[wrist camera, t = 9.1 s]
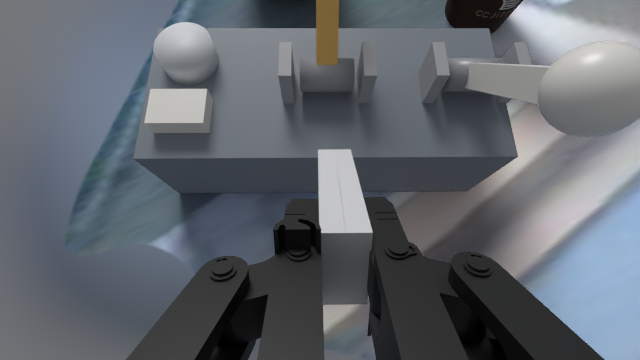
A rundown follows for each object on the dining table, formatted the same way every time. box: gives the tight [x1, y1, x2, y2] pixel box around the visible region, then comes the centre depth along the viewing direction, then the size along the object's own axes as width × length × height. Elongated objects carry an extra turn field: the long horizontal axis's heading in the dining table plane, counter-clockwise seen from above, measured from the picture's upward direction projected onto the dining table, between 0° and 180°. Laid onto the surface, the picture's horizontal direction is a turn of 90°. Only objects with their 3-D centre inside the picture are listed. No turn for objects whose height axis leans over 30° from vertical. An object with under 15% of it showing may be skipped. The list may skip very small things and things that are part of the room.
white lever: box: [442, 41, 640, 137], centre depth 18 cm, size 4×4×14 cm
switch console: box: [133, 22, 532, 193], centre depth 26 cm, size 26×11×11 cm, turn 91°
